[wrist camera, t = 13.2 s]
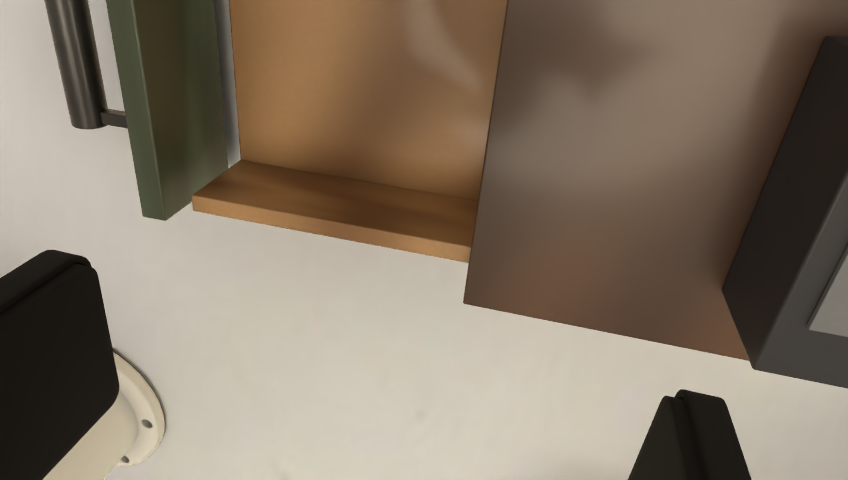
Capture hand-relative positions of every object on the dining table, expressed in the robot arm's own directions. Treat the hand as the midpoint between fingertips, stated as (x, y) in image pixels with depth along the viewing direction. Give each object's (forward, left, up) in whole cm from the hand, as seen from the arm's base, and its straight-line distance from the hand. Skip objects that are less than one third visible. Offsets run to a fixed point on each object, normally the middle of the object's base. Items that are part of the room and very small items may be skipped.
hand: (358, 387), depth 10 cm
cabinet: (+9, 0, -21) cm, 23 cm away
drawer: (-9, 0, -20) cm, 21 cm away
